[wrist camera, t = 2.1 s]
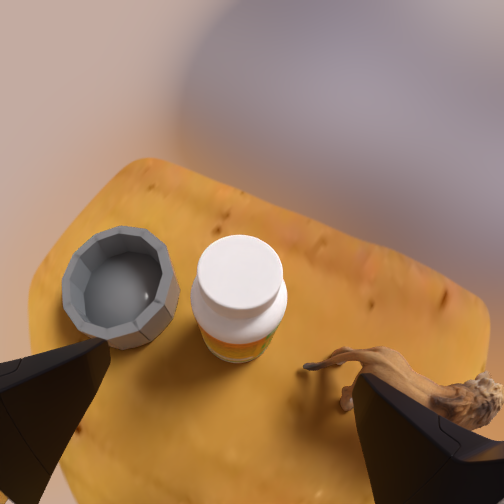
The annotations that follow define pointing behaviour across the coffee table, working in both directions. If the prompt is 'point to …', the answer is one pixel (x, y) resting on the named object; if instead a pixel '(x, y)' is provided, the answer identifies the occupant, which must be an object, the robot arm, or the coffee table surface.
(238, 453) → the coffee table surface
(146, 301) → the grey faceted bowl
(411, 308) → the coffee table surface
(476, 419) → the lion figurine
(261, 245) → the supplement bottle
